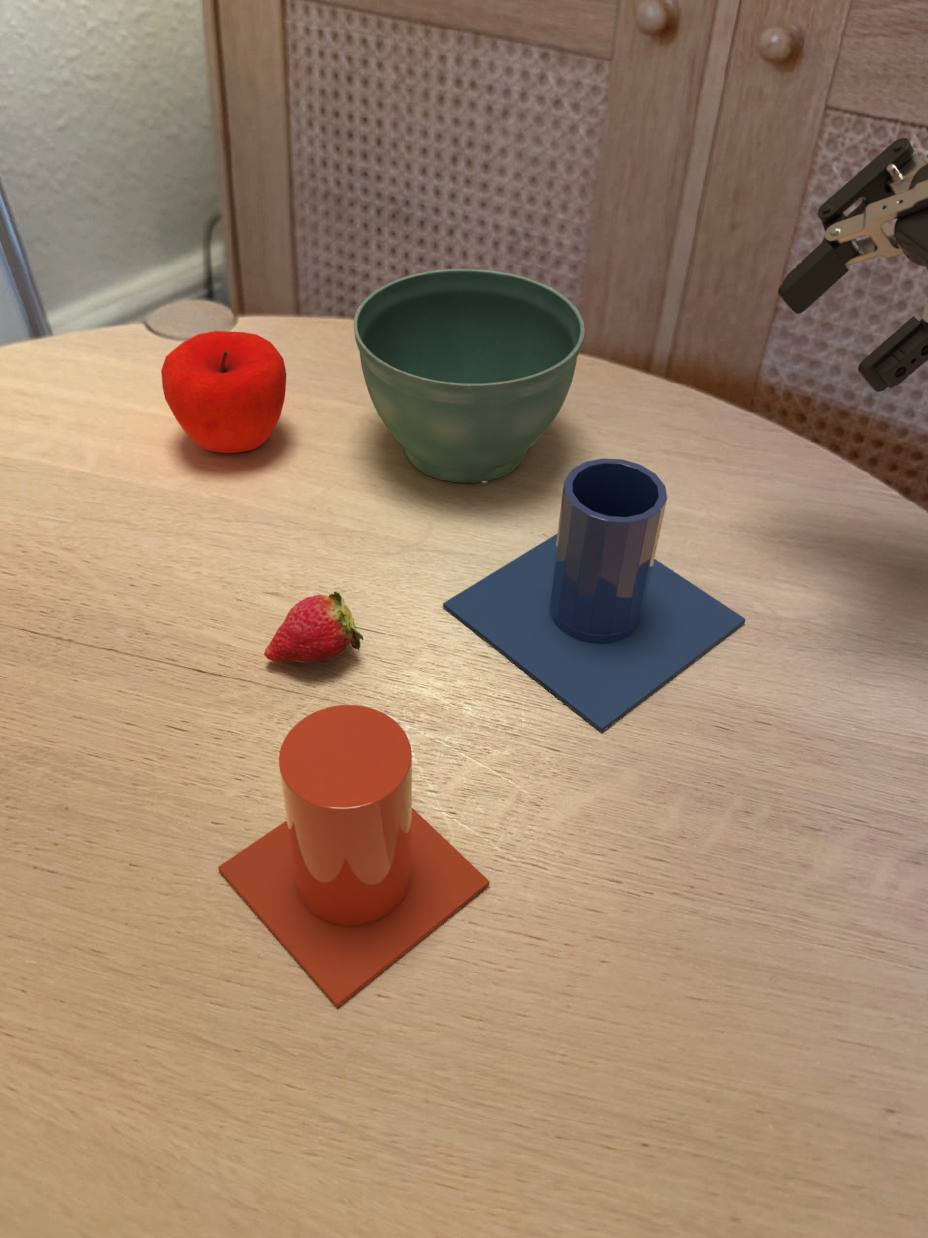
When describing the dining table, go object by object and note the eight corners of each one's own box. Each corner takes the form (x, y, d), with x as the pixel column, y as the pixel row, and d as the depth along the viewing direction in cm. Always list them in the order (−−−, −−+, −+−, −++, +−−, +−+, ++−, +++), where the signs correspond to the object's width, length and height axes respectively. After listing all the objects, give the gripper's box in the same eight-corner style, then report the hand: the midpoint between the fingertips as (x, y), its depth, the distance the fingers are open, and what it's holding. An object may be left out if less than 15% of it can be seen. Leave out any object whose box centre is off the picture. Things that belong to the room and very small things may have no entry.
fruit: (263, 637, 68) (254, 579, 65) (357, 626, 69) (354, 569, 66) (267, 687, 65) (259, 629, 62) (366, 675, 66) (363, 617, 63)
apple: (196, 489, 79) (180, 398, 73) (158, 426, 84) (140, 336, 78) (310, 456, 82) (303, 366, 76) (266, 398, 87) (256, 309, 82)
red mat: (489, 885, 56) (490, 881, 56) (337, 1008, 51) (337, 1004, 51) (367, 769, 61) (367, 764, 61) (218, 871, 56) (217, 867, 56)
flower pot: (316, 437, 84) (307, 310, 76) (473, 368, 91) (479, 246, 84) (452, 544, 75) (456, 413, 68) (612, 458, 83) (632, 331, 75)
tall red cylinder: (435, 878, 56) (439, 759, 49) (344, 949, 53) (333, 833, 46) (362, 806, 59) (355, 684, 52) (272, 869, 56) (252, 749, 49)
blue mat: (744, 623, 71) (746, 618, 70) (601, 733, 64) (602, 728, 63) (587, 518, 78) (588, 514, 77) (442, 607, 71) (442, 603, 71)
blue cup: (659, 613, 70) (687, 492, 63) (598, 658, 67) (619, 536, 60) (592, 566, 74) (611, 446, 66) (530, 607, 71) (543, 485, 63)
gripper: (970, 14, 57) (732, 244, 63) (1168, 112, 48) (868, 372, 53) (1013, 111, 62) (790, 315, 68) (1201, 216, 53) (924, 445, 58)
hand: (825, 340), depth 60 cm, fingers open, 8 cm apart
